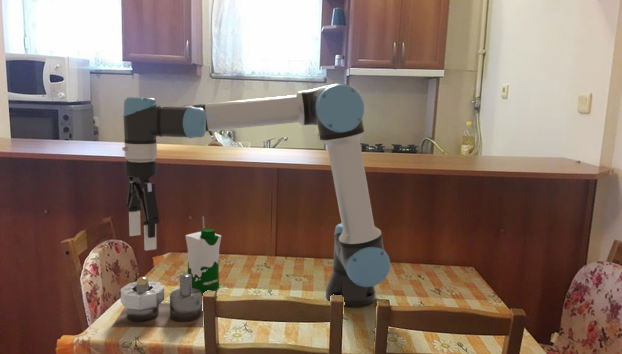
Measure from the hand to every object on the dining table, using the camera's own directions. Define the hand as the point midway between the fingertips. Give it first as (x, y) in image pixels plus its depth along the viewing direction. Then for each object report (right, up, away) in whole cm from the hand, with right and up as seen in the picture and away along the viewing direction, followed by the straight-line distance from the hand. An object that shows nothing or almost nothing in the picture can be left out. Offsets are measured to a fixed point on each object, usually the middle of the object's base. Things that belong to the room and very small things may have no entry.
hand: (142, 242), depth 124 cm
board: (+5, -21, +5) cm, 22 cm away
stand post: (+10, -20, +4) cm, 23 cm away
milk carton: (+10, -19, +23) cm, 32 cm away
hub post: (-1, -20, +3) cm, 20 cm away
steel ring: (-1, -16, +3) cm, 16 cm away
